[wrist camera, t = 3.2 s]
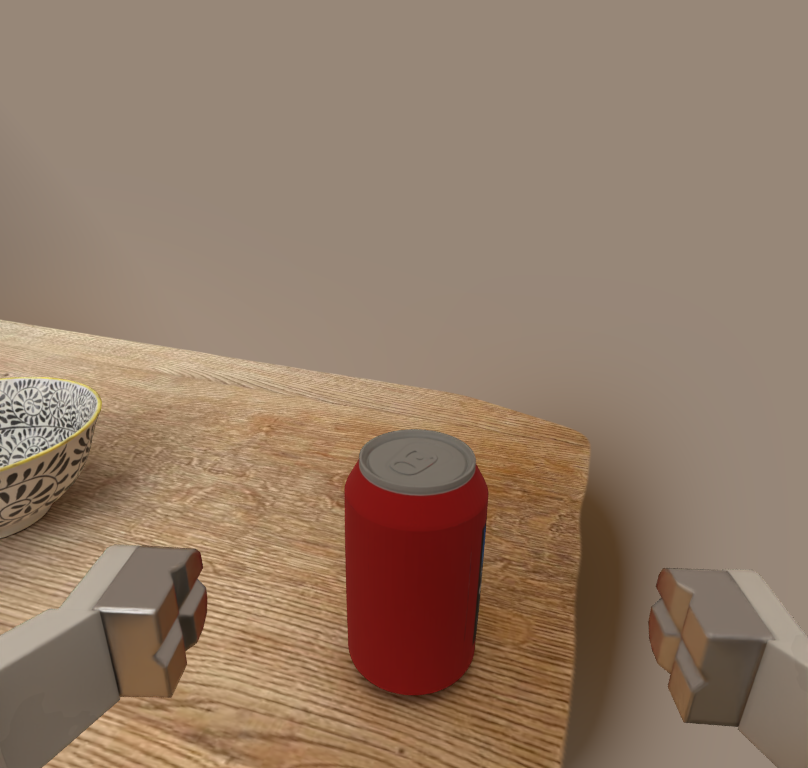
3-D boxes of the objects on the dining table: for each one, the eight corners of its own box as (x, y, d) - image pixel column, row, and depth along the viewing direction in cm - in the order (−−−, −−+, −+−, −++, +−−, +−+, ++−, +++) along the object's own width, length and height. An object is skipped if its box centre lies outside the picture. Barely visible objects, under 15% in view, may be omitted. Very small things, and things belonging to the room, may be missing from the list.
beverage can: (498, 644, 32) (518, 451, 27) (424, 734, 27) (434, 517, 22) (401, 588, 36) (405, 411, 31) (321, 658, 31) (311, 459, 26)
